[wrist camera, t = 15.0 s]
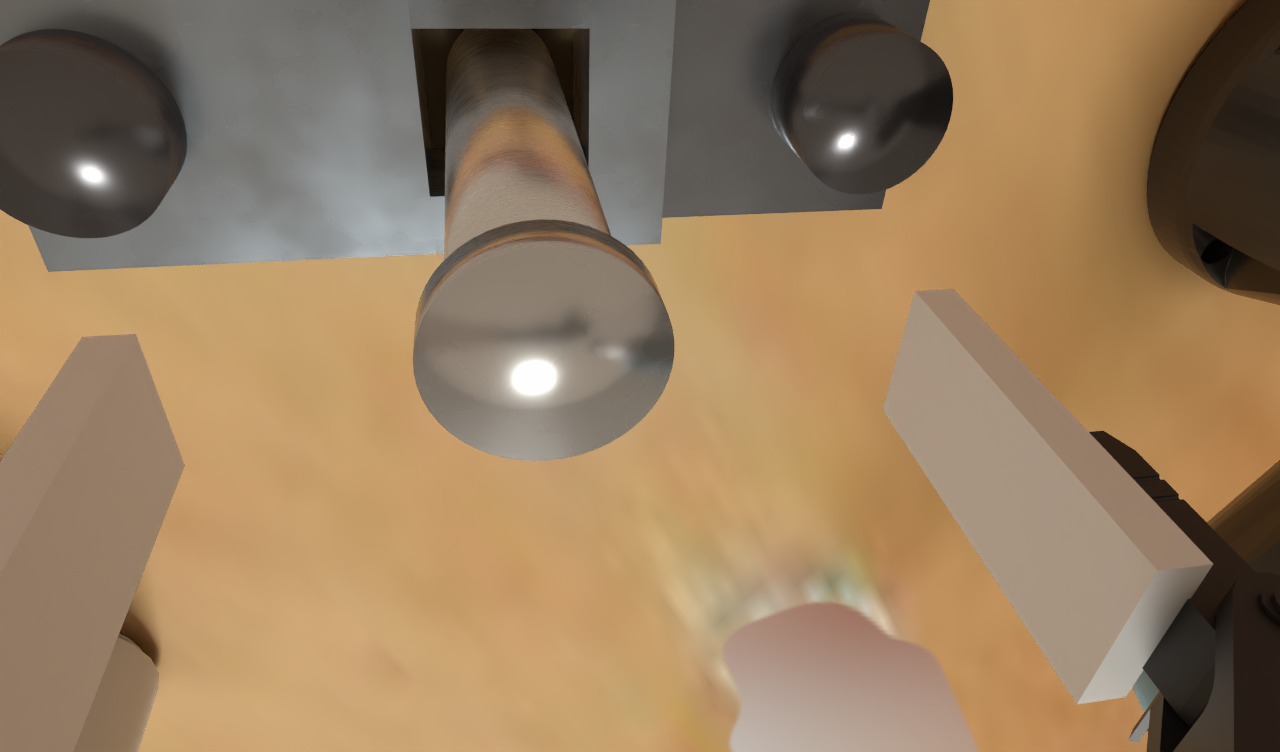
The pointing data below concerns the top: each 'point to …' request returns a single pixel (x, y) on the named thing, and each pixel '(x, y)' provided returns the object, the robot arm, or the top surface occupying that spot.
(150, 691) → the can
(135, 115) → the plate with dome knobs
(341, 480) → the top surface
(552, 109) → the steel pin
